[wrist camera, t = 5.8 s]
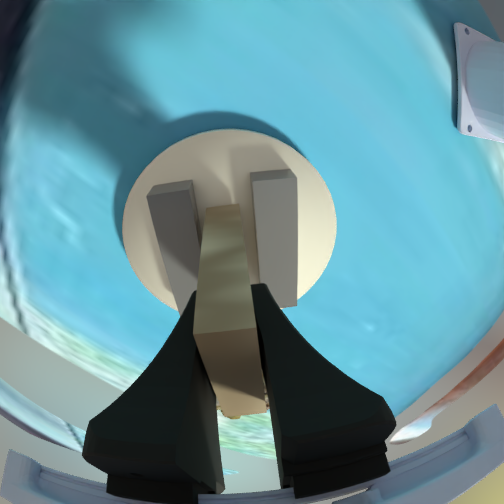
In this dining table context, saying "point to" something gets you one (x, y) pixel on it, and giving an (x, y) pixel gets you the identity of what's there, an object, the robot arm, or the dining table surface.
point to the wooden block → (228, 315)
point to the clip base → (226, 193)
